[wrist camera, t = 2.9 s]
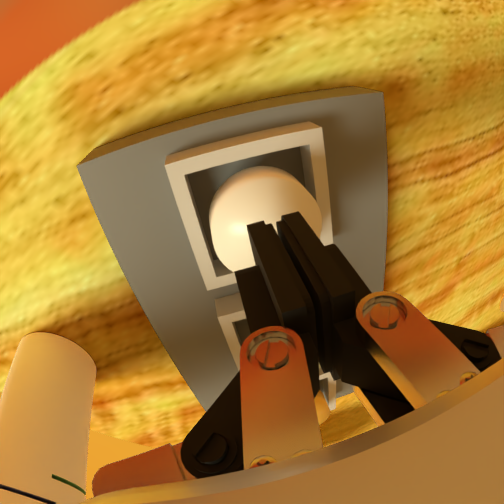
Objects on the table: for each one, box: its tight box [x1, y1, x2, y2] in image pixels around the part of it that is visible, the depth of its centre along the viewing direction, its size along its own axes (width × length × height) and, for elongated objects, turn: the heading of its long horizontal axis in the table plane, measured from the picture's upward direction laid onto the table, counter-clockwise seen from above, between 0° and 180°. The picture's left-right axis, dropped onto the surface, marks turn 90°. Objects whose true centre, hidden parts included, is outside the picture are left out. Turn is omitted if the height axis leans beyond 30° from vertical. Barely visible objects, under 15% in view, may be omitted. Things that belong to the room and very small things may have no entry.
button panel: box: [77, 86, 388, 412], centre depth 20 cm, size 14×24×4 cm, turn 11°
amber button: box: [314, 390, 330, 425], centre depth 22 cm, size 4×4×2 cm
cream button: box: [209, 166, 322, 272], centre depth 13 cm, size 4×4×2 cm
